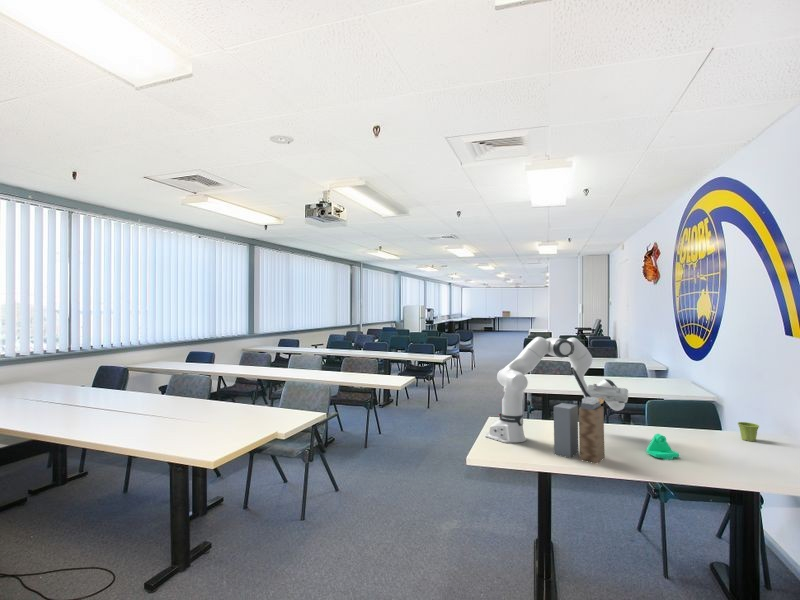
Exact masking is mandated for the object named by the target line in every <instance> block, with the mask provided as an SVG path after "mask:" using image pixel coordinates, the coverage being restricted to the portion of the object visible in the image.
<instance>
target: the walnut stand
mask: <svg viewBox="0 0 800 600" xmlns="http://www.w3.org/2000/svg"><path fill="white" fill-rule="evenodd" d="M604 413H605V412H604V406H601V405H600V407H599V408H597V409H595V410H588V409H581V406H579V407H578V447H579V461H582V460H583V462H586V461H588V462H587V463H591V462H592V464H595V463H598V464H599V463H600V462H602V461H603V460H604V459H605V422H604V420H605V418H604ZM602 459H603V460H602Z"/></svg>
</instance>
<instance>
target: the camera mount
mask: <svg viewBox="0 0 800 600" xmlns="http://www.w3.org/2000/svg"><path fill="white" fill-rule="evenodd" d="M646 453H647V454H649V455H651V456H653V457H654V458H659V459H660V458H661V459H662V458H663V459H662V460H674V458H680V453H679V452H677V451H675V450H673V449H672V448H671V447H670V445H669V444H668V442H667V438H666V436H664V435H663V434H660V433H655V434H654V436H653V437H652V439H651V441H650V442H649V444H648V446H647V448H646Z"/></svg>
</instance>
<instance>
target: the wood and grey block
mask: <svg viewBox="0 0 800 600" xmlns="http://www.w3.org/2000/svg"><path fill="white" fill-rule="evenodd" d="M604 402H605V400H604V399H602V398H596V397H583V398H582V399H581V403H580V407H581V409H588V410H595V409H597V408H599V407H600V406H601V405H602V404H604Z"/></svg>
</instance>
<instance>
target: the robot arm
mask: <svg viewBox="0 0 800 600" xmlns="http://www.w3.org/2000/svg"><path fill="white" fill-rule="evenodd" d="M545 355H548V356H552V357H554V358H563V359H564V358H567V357H568V358H569V359H570V361H571V362H572V366H573V367H572V369H571V370H572V374H573V377H574V378H575V380H576V382H577V384H578V386H579V388H580V389H581V391H582V394H583V398H585V397H596V398H602V399H604V402H605V403H606V404H607V405H608V406H609V408H610V409H612V410H613V411H616V412H618V411H622V410H623V409H624V408H625V406H626V403H627V404H628V400H629V390H628V388H624V387H618V386H617V385H616V384H615V382H614V381H612V380H611V379H608V378H604V379H602V380H600V381H599V382H597V383H593V384H587V382H586V381H585V378H584V377H585V374H586V373H587V371H588V370H589V369H590V367H591V366H592V364H593V356H592V354H591V352H590V351H589V350H588V348H587V347H586V346H585V345H584V344H583V343H582V342H581V341H580V340H579V339H578V338H577V337H569V338H567V339H564V338H560V337H556V336H555V337H553V336H552V337H551V336H550V337H545V338H544V337H542V336H536V337H534V338H533V339H532V340H531V341H530V342H529V343H528V344H526V346H525V347H524V348H523V349H522V351H521V352H520V353H519V354H518V355H517V356H516V357H515V358H514V360H512V361H511V362H510V363H509V364H507V365H506V366H505V367H503V368H501V369H500V370H499V371H498V372H497V375H496V381H497V382H498V383H499V384H500V385H501V386H502V387H504V388H505V390H504V395H503V398H502V399H501V410H502V411H501V413H499V414H498V416H497V417H499V419H497V420H495V421H494V422H493V423H492V424H491V425H490V426H489V431H488V432H486V433H485V434H484V435H485V436H484V437H485V438H488V439H491V440H495V441H497V440H498V441H497V442H500V443H501V442H502V443H505V444H506V443H509V444H510V443H523V442H526V440H527V439H526V436H525V431H524V414H523V397H524V393H525V390H526V388H528V385H529V384H528V383H529V381H528V379H527V377H526V375H527V374H528V373H530V372H532V371H534V369H535V368H536V366H537V365H538V364H539V363H540V362H541V361H542V360H543V358H544V357H545Z"/></svg>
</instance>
